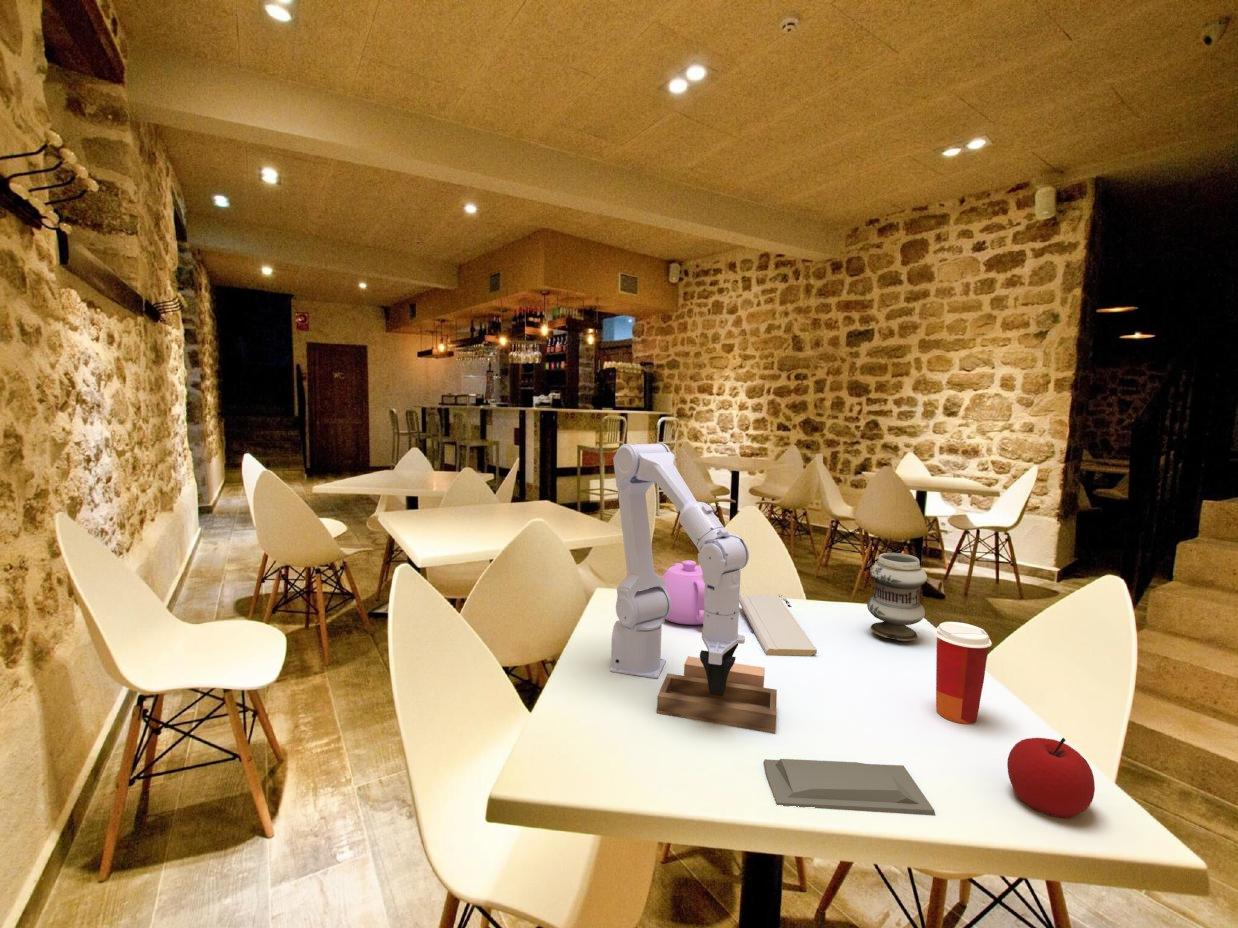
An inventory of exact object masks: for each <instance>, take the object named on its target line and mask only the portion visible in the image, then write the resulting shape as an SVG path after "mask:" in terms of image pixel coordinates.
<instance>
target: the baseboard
mask: <svg viewBox="0 0 1238 928" xmlns="http://www.w3.org/2000/svg"><path fill="white" fill-rule="evenodd" d="M782 597H783V595H781V594H780V595H779V594H756V593H754V594H752V593H751V594H750V593H746V594H744V593H740V595H739V606H740V607H741V609H742V610H743V613H744V614H745V617H746V618H747V620H748V622H749V624H750V626H751V629H752V631H753V632H754V633H755V636H756V638H757V639H758V642H759V644H760V645H761V648H762V650H763V652H764V653H765V656H799V657H802V656H805V657H811V656H812V655H816V654H817V653H818V650H817V648H816V646H815V645H814V644H813V642H812V641H811V640H810V638H809V636H808V635H807V634H806V632H805V630H803V628H802V626H801V625H800V624H799V622H798V621H797V620H796V618H795V617H794V615H793V614H792V613H791V611H790V610H789V609H788V608H791V604H790V601H789V600H787V598H784V599H783V598H782ZM784 602H785V603H784Z"/></svg>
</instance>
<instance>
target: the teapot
mask: <svg viewBox="0 0 1238 928" xmlns="http://www.w3.org/2000/svg"><path fill="white" fill-rule="evenodd" d="M702 575H703V573H702V569H701V567H700V565H697V562H696V561H694V560H689V559H688V560H683V561H682V562H681V563H680V562H676V563H674V564H673V565H672V566H669V568H668V569H667V570H666V571H665V573H664V574H663V575H662V577H661V578H662V579H663V580H664V581H665V584H666V590H667V592H668V595H669V597H670V600H671V610H670V613H669V615H668V616H667V617H665V620H666V621H669V622H671V623H675V624H679V625H690V626H691V625H692V626H693V625H694V626H695V625H703V621H704V593H705V583H704V580H703V579H702Z"/></svg>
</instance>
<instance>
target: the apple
mask: <svg viewBox="0 0 1238 928" xmlns="http://www.w3.org/2000/svg"><path fill="white" fill-rule="evenodd" d="M1065 742H1066V739H1065V737H1062V738H1061V739H1060V740H1057V739H1054V738H1053V739H1052V738H1045V737H1029V738H1024V739H1022V740H1020V741H1018V742H1017V743H1015V744H1014V745H1013V747H1012V749H1011V750H1010V752H1009V753H1008V758H1007V766H1006V767H1007V774H1008V778H1009V782H1010V784H1011V787H1012V789H1013V791H1014V792H1015V794H1016V795H1017V797H1019V799H1020V800H1021V801H1022V802H1023V803H1024V804H1026V805H1027V806H1028V807H1029V808H1031V809H1033V810H1035V811H1036V812H1040V813H1042V814H1046V815H1049V816H1051V817H1056V818H1060V819H1071V818H1074V817H1076V816H1077V815H1080V814H1082V813H1084V812H1086V810H1087V809H1089V808H1090V806H1091V804H1092V802H1093V799H1094V797H1095V791H1096V787H1095V776H1094V773H1093V769H1092V768H1091V766H1090V764H1089V762H1088V761H1087V760H1086V758H1085V757H1084V756H1082V754H1081V753H1080V752H1079V751H1077V750H1076V749H1075V748H1073V747H1072V746H1070V745H1068V744H1067V743H1065Z"/></svg>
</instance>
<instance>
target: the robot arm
mask: <svg viewBox="0 0 1238 928" xmlns="http://www.w3.org/2000/svg"><path fill="white" fill-rule="evenodd" d="M612 460H613V469H614V477H615V486H616V489H617V496H618V504H619V505H618V506H619V513H620V514H619V515H620V521H621V530H622V531H621V532H622V541H623V549H624V557H625V558H624V559H625V564H626V577H624V579H622V581H621V582H620V583H619V585H618V586H617V587H616V594H617V595H616V597H617V598H616V602H615V612H616V613H615V614H616V616H617V618H618V620H616V621H615V622H614V626H613V628H612V634H611V651H610V652H611V653H610V654H611V655H610V657H611V658H610V659H611V662H610V668H609V671H610V672H611V673H617V674H623V675H625V674H626V675H631V676H637V677H643V678H649V679H659V677H660V674H661V672H662V671H663V668H664V666H665V664H666V659H665V658H662V657H661V655H662V630H663V629H662V625H663V624H665V620H666V619H665V617H667V616H668V615H669V613H670V610H671V600H670V597H669V595H668V592H667V590H666V584H665V581H664V580H663V579H662V577H660V576H659V575H658V574H657V573H655V563H654V555H653V548H652V539H651V531H650V530H651V529H650V522H649V521H650V520H649V515H648V514H649V513H648V506H647V505H648V503H647V496H646V494H647V491H648V490H649V489H650V487H651V486H652V485H654V484H657V486H658V487H659V489H661V491H662V492H663V493H664V495H665V496H666V497H667V498H668V499H669V500H670V501H671V503H672V504H673V505H674V506H675V508H676V509H677V510H678V511H679V518H678V519H679V524H680V525H681V527H682V529H683V530H684V531H685V533H686V534H687V536H688V537H689V538H690V540H691V541H692V543H693V544H694V545H695V547H696V548H697V550H698V552H699V553H697V561H698V565H699V566H700V567H701V569H702V573H703V575H702V579H703V580H704V583H705V593H704V621H703V624H702V632H701V640H702V641H703V643H704V645H705V647H706V649H707V650H703V649H701V650H700V652H699V658H700V660H701V662H702V664H703V666H704V668H705V671H706V675H707V680H708V686H709V691H710V694H711V695H717V696H723V694H724V691H725V687H726V681H727V677H728V674H729V671H730V669H731V668H732V666H733V664H734V663H736V658H737V657H736V656H734V653H735V651H736V650H737V648H738V647H739V645H741V644H745V642H746V636H745V635H744V634H743V635H742V634H739V615H740V610H739V609H740V603H739V595H740V594H741V591H740V590H741V571H742V569H744V568H746V566H747V564H748V563H749V559H750V558H749V557H750V556H749V555H750V554H749V553H750V552H749V548H748V546H747V544H746V542H745V540H744V539H743V538H742V537H741V536H739V535H737V534H733V533H732V532H731V531H729V530H728V529H726V528H725V526H724V525H723V524H722V522H721V521H720V520H719V518H718V517H717V516H716V514H715V513H714V512H713V511H714V509H713V507H711V505H710V504H707V503H706V502H703V501H697V499H696V498H695V496H694V495H693V493H692V492H691V489H690V488H689V486H688V485H687V483H686V482H685V480H684V479H683V477H682V476H681V474H680V472H679V470H678V468H676V467H677V466H676V456H675V454H674V453H673V452H671V449H670V448H669V446H668V445H667V444H665V443H664V442H656V443H639V444H636V443H635V444H630V443H624V444H622V445H620V446H619V448H618V449H617V451H616V452H615V454H614V456H613V459H612Z"/></svg>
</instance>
